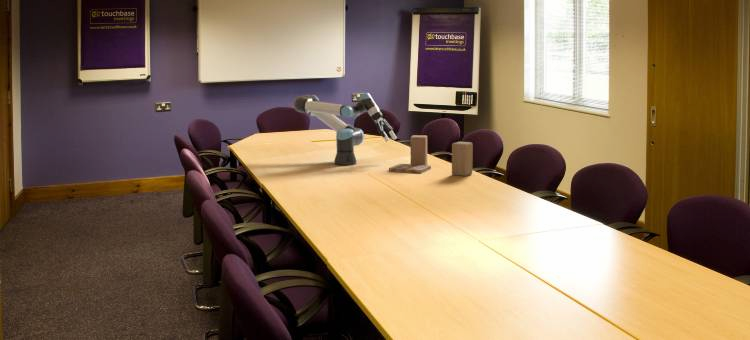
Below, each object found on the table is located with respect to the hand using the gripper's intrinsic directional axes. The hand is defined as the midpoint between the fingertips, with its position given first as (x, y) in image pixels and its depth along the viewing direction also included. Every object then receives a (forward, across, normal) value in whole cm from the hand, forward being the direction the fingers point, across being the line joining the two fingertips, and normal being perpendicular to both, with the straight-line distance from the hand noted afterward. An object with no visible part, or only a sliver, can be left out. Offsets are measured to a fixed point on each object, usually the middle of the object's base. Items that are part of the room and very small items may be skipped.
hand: (391, 140), depth 478 cm
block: (+46, -23, -37) cm, 63 cm away
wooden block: (+25, -3, -8) cm, 27 cm away
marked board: (+25, -19, -8) cm, 33 cm away
